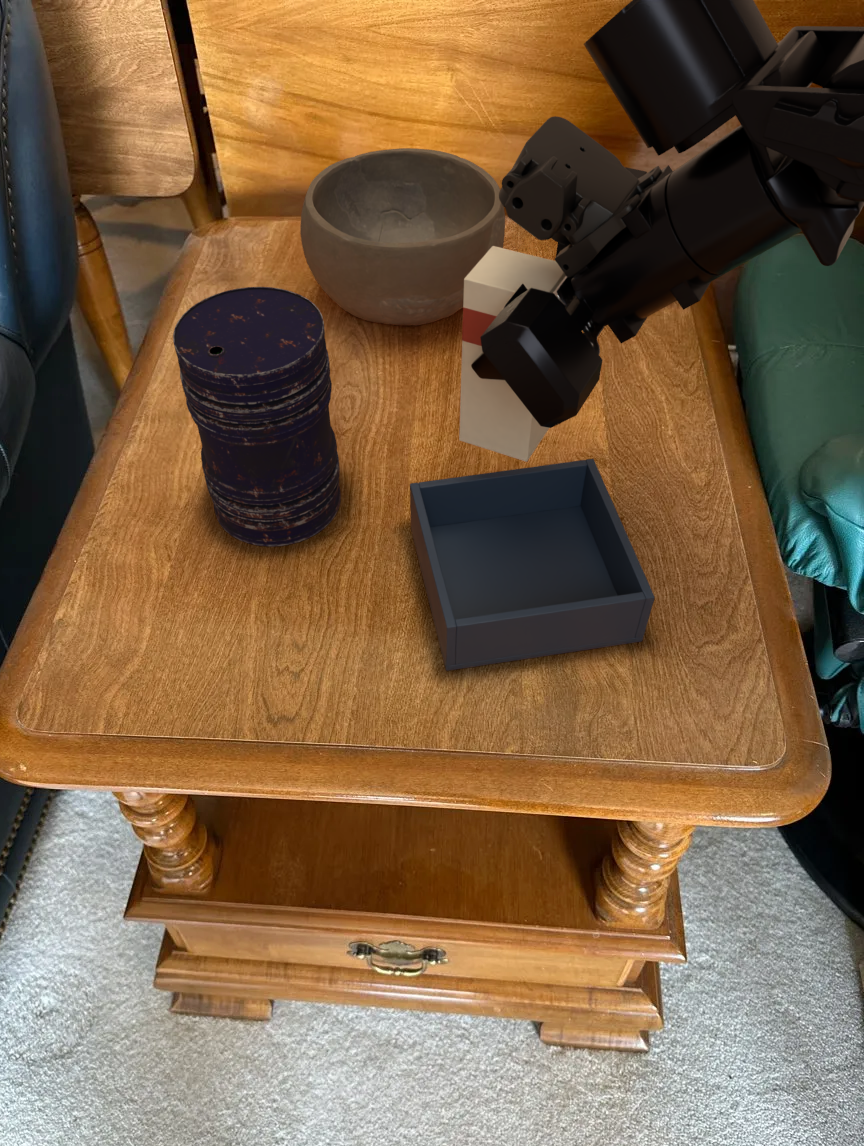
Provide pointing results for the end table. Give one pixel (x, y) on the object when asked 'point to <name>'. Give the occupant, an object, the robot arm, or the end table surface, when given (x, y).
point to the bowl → (400, 232)
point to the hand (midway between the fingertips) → (490, 352)
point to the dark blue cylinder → (262, 412)
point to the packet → (484, 403)
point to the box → (527, 564)
